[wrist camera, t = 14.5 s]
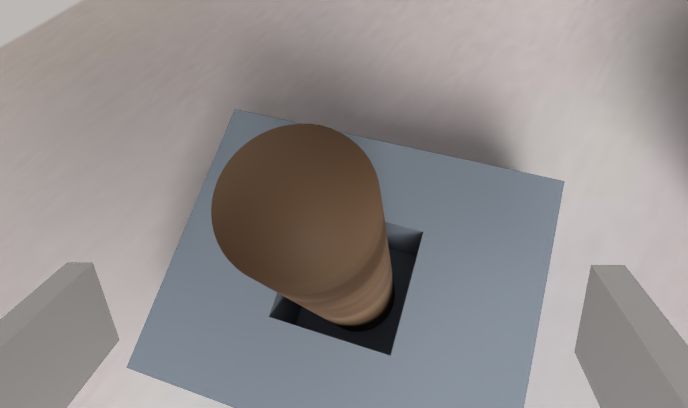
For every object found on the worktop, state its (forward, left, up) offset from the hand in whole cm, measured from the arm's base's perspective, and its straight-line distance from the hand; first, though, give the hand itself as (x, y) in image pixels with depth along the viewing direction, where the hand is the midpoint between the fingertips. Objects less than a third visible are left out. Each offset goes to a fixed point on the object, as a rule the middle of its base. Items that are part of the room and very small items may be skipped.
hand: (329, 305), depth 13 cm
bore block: (-1, +2, -13) cm, 14 cm away
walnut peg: (-1, +2, -12) cm, 13 cm away
